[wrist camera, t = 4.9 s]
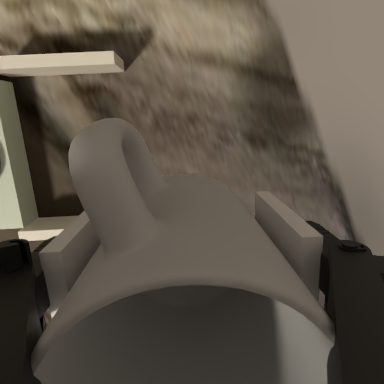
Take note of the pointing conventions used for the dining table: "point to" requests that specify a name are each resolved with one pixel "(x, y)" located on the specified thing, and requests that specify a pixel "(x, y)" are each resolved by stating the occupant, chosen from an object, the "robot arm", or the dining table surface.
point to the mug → (176, 282)
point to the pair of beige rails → (14, 144)
